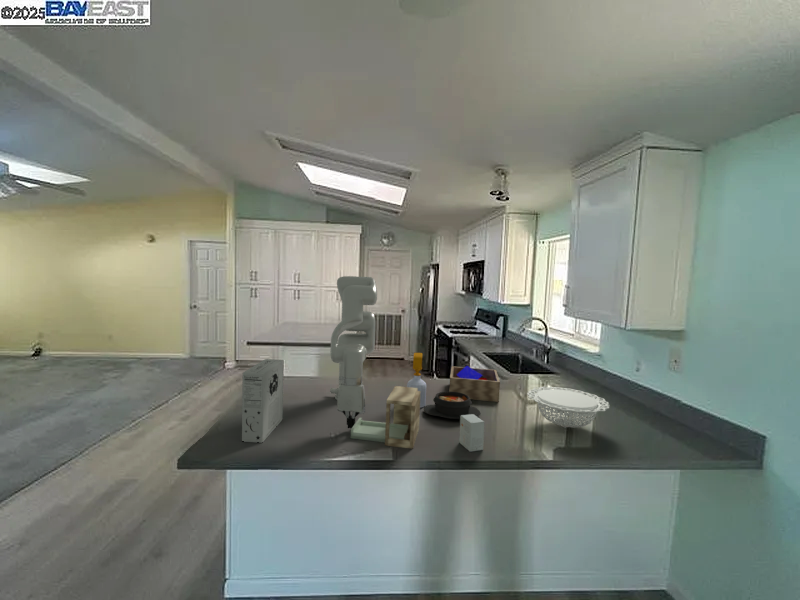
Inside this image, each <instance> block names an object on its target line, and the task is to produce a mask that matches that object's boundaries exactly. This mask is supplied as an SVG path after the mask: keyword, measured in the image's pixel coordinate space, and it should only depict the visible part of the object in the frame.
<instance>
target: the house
mask: <svg viewBox="0 0 800 600" xmlns="http://www.w3.org/2000/svg"><path fill="white" fill-rule="evenodd" d="M472 368H473V367H470V366H469V365H466V366H465V368H463V369H462V370H461V371H460V372H459V373H458V374H457V378H465V379H477V380H487V379H486V378H485V377H484V376H483V375H481V374H480V373H478V372H477V371H475V370H473V369H472Z"/></svg>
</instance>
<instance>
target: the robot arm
mask: <svg viewBox="0 0 800 600" xmlns="http://www.w3.org/2000/svg"><path fill="white" fill-rule="evenodd" d="M336 288H337V291H338V294H339V297H340V300H341V321H340V322H339V323H338V324H337V325H336V327H335V328H334V329H333V332H332V334H331V337H330V353H329V354H330V355H329V356H330V359H331V361H332V362H333V363H336V364H338V365H339V366H338V367H339V368H338V387H337V388H332V387H331V388H330V391H329V392H330V393H331V394H335V395H334V397H335V398H334V399H335V400H336V407H337V411H338V412H340V413H343V415H344V416H345V418H346V425H347V429H350V430H351V428H352V427H353V426H354V424H355V423H356V417H358V416H359V415H364V414H365V413H366V409H365V407H366V392H365V391H366V390H365V385H364V383H363V367H364V365H363V363H364V361H365V360H366V359H367V355H368V354H372V353H374V351H375V346H376V345H375V344H376V317H375V316H376V315H375V314H374V313H373V312H371V311H364V306H375V304H376V303H377V300H378V290H377V289H378V288H377V284H376V280H375V278H374V277H371V276H353V275H349V276H347V275H345V276H340V277H338V278H337V279H336ZM345 331H347V332H354V333H343V332H345ZM355 332H364V333H355ZM342 333H343V334H342Z"/></svg>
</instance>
